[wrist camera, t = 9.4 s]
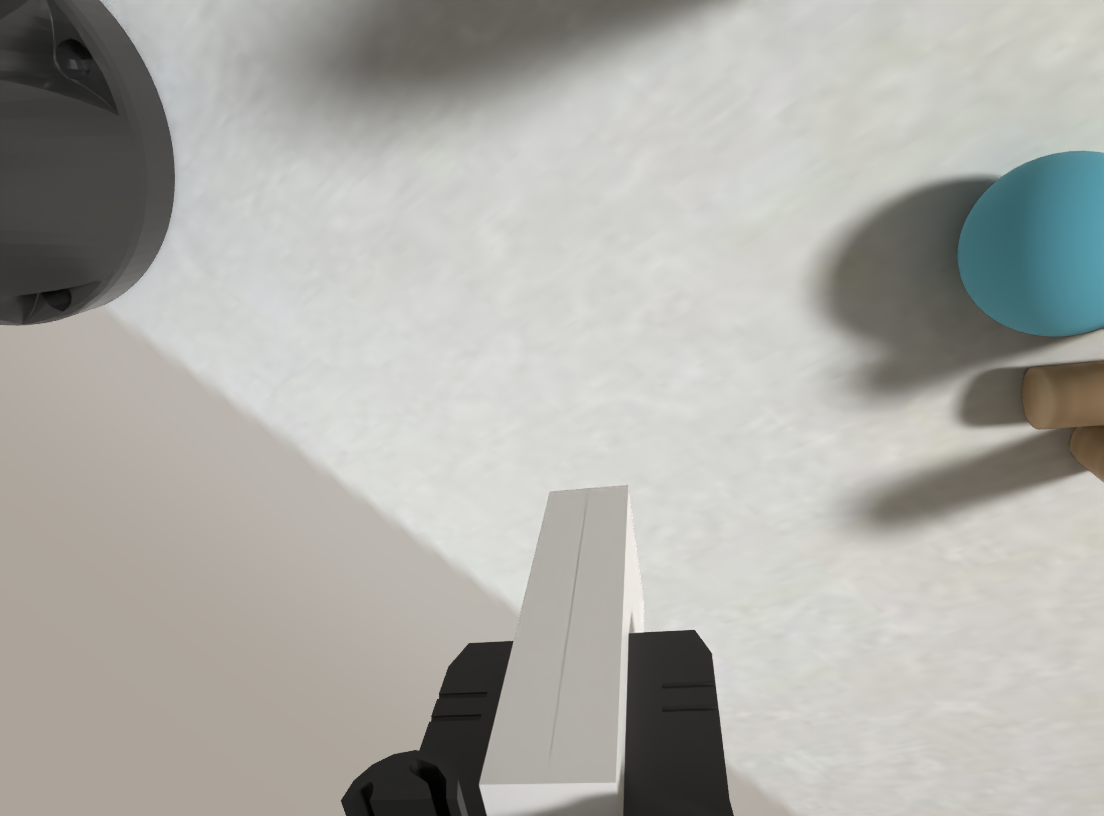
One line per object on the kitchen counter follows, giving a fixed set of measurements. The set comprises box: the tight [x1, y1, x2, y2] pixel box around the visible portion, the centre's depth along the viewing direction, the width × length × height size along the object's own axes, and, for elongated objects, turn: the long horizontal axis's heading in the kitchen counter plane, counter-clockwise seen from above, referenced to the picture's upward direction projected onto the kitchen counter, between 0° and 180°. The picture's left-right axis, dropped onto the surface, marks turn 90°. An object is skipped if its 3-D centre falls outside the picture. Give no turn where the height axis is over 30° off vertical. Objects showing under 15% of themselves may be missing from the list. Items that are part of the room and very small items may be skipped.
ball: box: [958, 151, 1104, 337], centre depth 25 cm, size 6×6×6 cm
